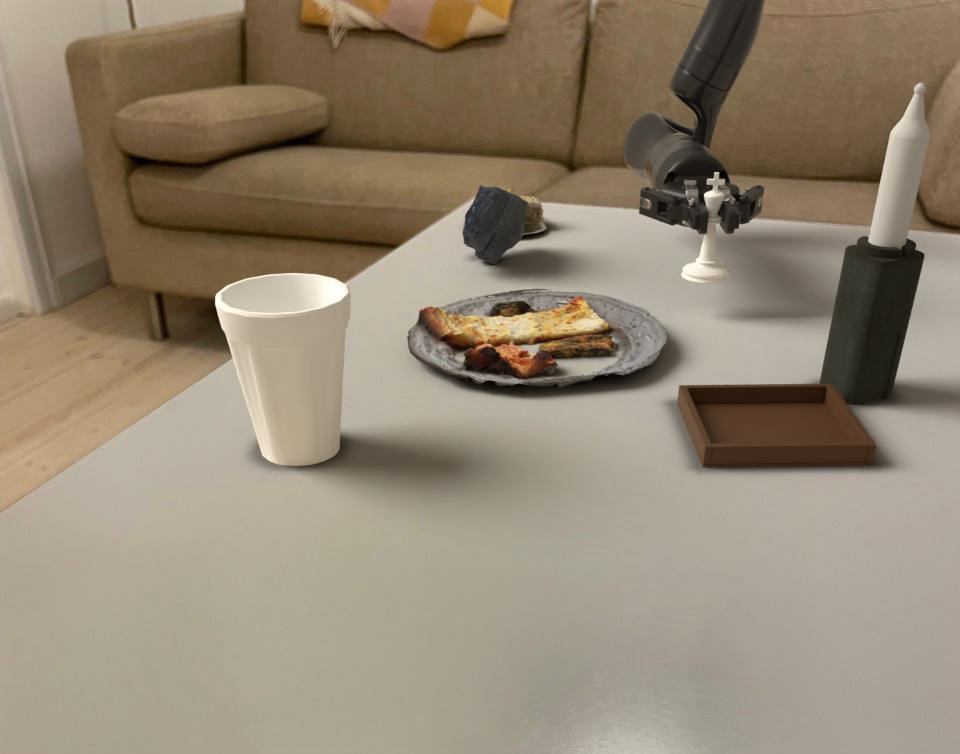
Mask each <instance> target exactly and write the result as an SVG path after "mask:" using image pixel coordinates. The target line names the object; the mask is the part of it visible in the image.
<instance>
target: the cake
mask: <svg viewBox="0 0 960 754" xmlns="http://www.w3.org/2000/svg"><path fill="white" fill-rule="evenodd" d="M507 191H508V192H510V193H512V194H514V195H515V189H514V188H513V187H511V188H509V189H507ZM519 197H521V199H523V200H525V201H527V202H528V205H527V210H526V215H525V219H524V230H523V234H522V236H526V235H532V234H538V233H540V232H544V231H546V230H548V229H547V228H548V227H547V225H546V224H545V223H544V220H545V217H543V216H544V209H543V207H544V206H543V204H542V202H541V201H540V200H539V198H536V197H534V196H525V195H519Z"/></svg>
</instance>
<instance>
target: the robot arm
mask: <svg viewBox="0 0 960 754" xmlns="http://www.w3.org/2000/svg"><path fill="white" fill-rule="evenodd" d="M765 3H766V0H708V1H707V3H706V5H705V8H704V10H703V12H702V14H701V15H700V18H699V20H698V21H697V24H696V26H695V28H694V30H693V32H692V34H691V36H690V38H689V40H688V42H687V44H686V46H685V48H684V50H683V52H682V54H681V56H680V58H679V60H678V62H677V64H676V66H675V68H674V70H673V73H672V75H671V77H670V80H669V89H670V91H671V93H672V94H673V96H674V97H675V98H676V99H677V100H678V101H680V102H681V103H682V104H683V105H685V106H686V107H687V108H688V109H689V110H690V111H691V112H692V113H693V115H694V119H693V123H692V125H691V126H687V125H685V124H683V123H681V122H679V121H678V120H675V119H673V118H672V117H669V116H667V115H665V114H663V113H660V112H658V111H654V110H653V111H646V112H643V113H641V114H639V116H637V117H636V118H634V119H633V121H632V122H631V123H630V125H629V126H628V129H627V130H626V132H625V134H624V138H623V141H622V142H623V143H622V158H623V162H624V164H625V166H626V168H627V169H628V170H629V171H630V172H631V173H632V174H634V176H637V177H638V178H640V179H641V180H642V181H644V182H646V183H647V184H649V185H650V186H651V187H649V186H643V187H641V188H640V195H639V205H638V206H639V209H638V214H639V215H641V216H644V217H647V218H650V219H653V220H655V221H658V222H660V223H663V224H666V225H669V226H672V227H673V226H675V225H678V226H680V227H684V228H690V229H691V230H694V231H696V232H697V233H698V235H704V234H707V228H708V219H709V211H708V210H707V208H706V203H705V199H704V194H705V193H706V192H708V191H711V190H713V185H707V179H714V173H715V172H719V179H725V185H718V189H717V190H718V191H720V192H723V193H724V194H725V197H724V199H723V201H722V204H721V206H720V209H719V211H718V213H717V214H718V216H720V217H722V222H721V223H716V225H718V224H719V227H720V228H721V229H722V230H723V232H724V233H725V235H726V234H727V235H733V234H735V230H739V229H740V225H745V224H749V223H750V222H751V221H752V220H753V219H754V218H756V217H758V215H759V214H761V213H762V209H763V203H764V195H765V194H764V193H765V186H763V185H761V184H756V185H753V186H751V187H746V188H745V191H740V187H739V186H738V185H736V184H735V183H731V179H730V176H729V174H728V171H727V169H726V167H725V166H724V164H722V162H721V161H720V160H719V158H717V157H716V155H715V154H714V153H713V152H712V151H711V146H712V143H713V142H712V141H713V138H714V134H715V130H716V127H717V124H718V120H719V118H720V115H721V113H722V109H723V107H724V105H725V103H726V100H727V98H728V97H729V95H730V92H731V90H732V89H733V87H734V85H735V83H736V82H737V80H738V77H739V76H740V74H741V72H742V70H743V68H744V67H745V65H746V63H747V61H748V59H749V57H750V55H751V53H752V51H753V48H754V46H755V43H756V40H757V37H758V34H759V31H760V28H761V24H762V18H763V14H764V9H765Z"/></svg>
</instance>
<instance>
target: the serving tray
mask: <svg viewBox="0 0 960 754" xmlns="http://www.w3.org/2000/svg"><path fill="white" fill-rule="evenodd" d="M676 404H677V408H678V410H679V413H680V416H681V417H682V421H683V422H684V425H685V427H686V430H687V432H688V435H689V438H690V440H691V442H692V445H693V448H694V450H695V453H696V455H697V457H698V460H699V462H700V465H701V467H702V468H760V467H761V468H764V467H765V468H766V467H767V468H768V467H843V466H844V467H847V466H848V467H849V466H850V467H851V466H852V467H855V466H856V467H857V466H859V467H860V466H861V467H862V466H864V467H865V466H867V467H868V466H873V462H874V458H875V453H876V450H877V443H876V442H875V440H874V439H873V438H872V436H871V435H870V434H869V432H868V431H867V430H866V428H865V427H864V426H863V423H861V421H860V420H859V418H858V417H857V415H856V414H855V413H854V412H853V410H852V409H851V408H850V407H849V404H846V402H845V401H844V399H843V398H842V397H841V395H840V394H839V393H838V391H837V390H836V388H835V387H834V386H833V384H832V383H829V384H819V383H762V384H761V383H759V384H758V383H757V384H756V383H755V384H753V383H751V384H749V383H747V384H680V385H678V392H677V403H676Z"/></svg>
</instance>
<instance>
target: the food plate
mask: <svg viewBox="0 0 960 754" xmlns="http://www.w3.org/2000/svg"><path fill="white" fill-rule="evenodd" d="M664 326H665V324H663V322H662V321H660V320H659V319H658V318H657V317H656V316H654V315H653V314H652V313H651V311H650V310H648V309H647V308H645V307H642V306H639V305H635V304H633V303H630V302H627V301H625V300H624V299H621V298H616V297H613V296H609V295H604V294H598V293H593V292H592V293H591V292H585V291H583V292H582V291H559V290H550V289H548V288H528V289H517V290H509V291H503V292H498V293H492V294H486V295H480V296H476V297H474V298H473V297H472V298H471V297H470V298H465V299H460V300H458V301H454V302H450V303H448V304H445V305H443V306H439V307H438V306H435V307H434V306H431V305H429V306H426V307H424V308H423V309H422V308H421V309H420V310H419V311H418V318H417V321H416V323H415V324H414V325H413V326H411V328H409V330H408V332H407V334H408V335H407V336H406V337H407V338H406V339H407V346H408V347H407V348H408V349H409V353H410V354H411V355H412V356H413V357H414V358H415V360H418V361H419V362H421V363H423V364H425V365H428V366H430V367H433V368H435V369H437V370H439V371H440V372H442V373H443V374H445V375H446V376H454V377H455V378H457V379H458V378H459V379H465V381H466V382H465V384H466V385H467V384H468V383H469V379H468V378H470V379H471V380H472V382H473V383H475V384H479V385H480V384H483V383H484V382H487V381H492V382H494V384H495V386H500V387H504V386H505V387H506V386H514V385H517V384H518V385H520V384H521V385H527V386H531V387H552V386H555V385H557V388H564V387H568V386H571V385H574V384H576V383H580V382H589V381H591V380H592V379H594V377H597V376H609V375H612V374H615V375H621V376H626V375H628V374H631V373H633V372H635V371H638V370H641V369H642V368H645V367H648V366H649V365H652V364H653V363H654V362H656V361H657V358H658V357H659V356H660V355H661V350H662V349H663V347H664V346H665V344H666V343H667V339H668V337H667V327H664ZM612 339H613V340H612ZM615 343H616V344H617V345H618V346H619V347H620V348H621V354H620V357H618V358H617V361H616V362H614V363H612V364H610V365H607V366H605V367H602V368H601V369H600V370H596V371H592V373H589V374H587V375H586V374H585V375H584V374H581V375H578V374H576V375H571V376H570V375H569V376H563V377H548V378H543V379H542V380H539V379H536V380H535V379H534V380H526V379H532V378H537V377H540V376H542V375H550V374H554V373H555V369H556V368H557V367H558V366H559V363H557V360H554V359H553V358H571V359H573V358H594V357H595V358H598V357H609V358H612V357H614V355H612V354H613V352H616V351H617V350H616V347H617V346H616V344H615ZM536 344H539V348H538V351H536V353H533V352H530V351H529V350H527V349H526V350H525V349H524V348H523V347H522V345H524V346H530V347H531V346H533V345H534V346H536ZM461 351H465V352H461ZM455 354H456V356H455V357H457V358H464V361H463V364H462V363H459V360H458V359H456V358H455V357H454V355H455ZM563 361H564V360H562V362H563Z"/></svg>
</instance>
